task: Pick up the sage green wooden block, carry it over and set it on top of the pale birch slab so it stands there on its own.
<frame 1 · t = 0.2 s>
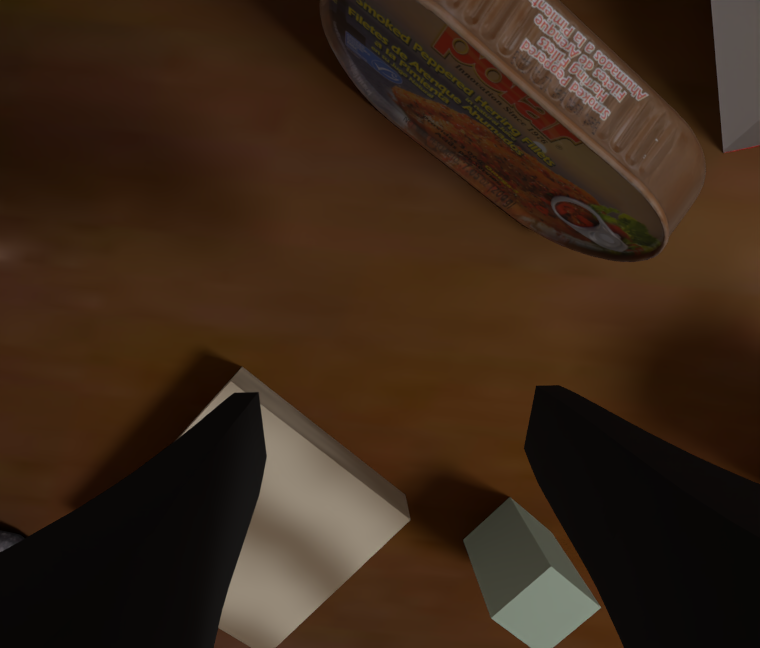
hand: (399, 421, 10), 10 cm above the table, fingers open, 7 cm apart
block: (507, 535, 24), on the table
slab: (260, 500, 23), on the table
geode: (10, 604, 23), on the table
tin: (471, 144, 19), on the table
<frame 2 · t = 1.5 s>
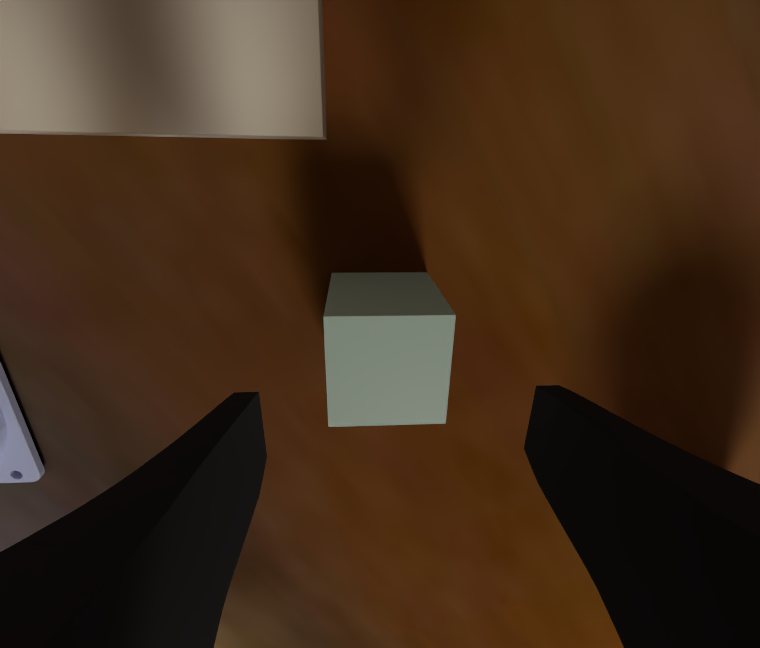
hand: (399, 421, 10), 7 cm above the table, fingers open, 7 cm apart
block: (379, 316, 17), on the table
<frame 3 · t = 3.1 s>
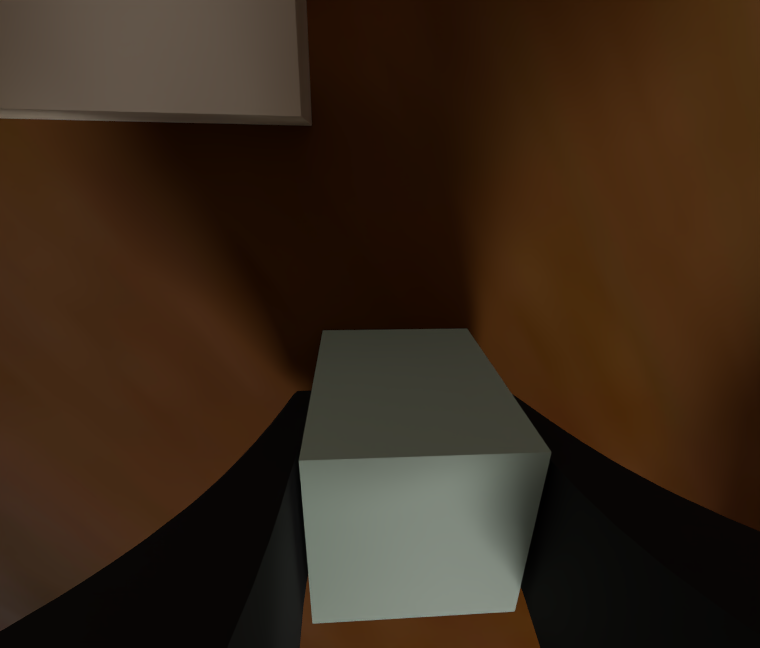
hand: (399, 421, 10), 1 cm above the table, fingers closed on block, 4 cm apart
block: (393, 391, 11), on the table, touching gripper
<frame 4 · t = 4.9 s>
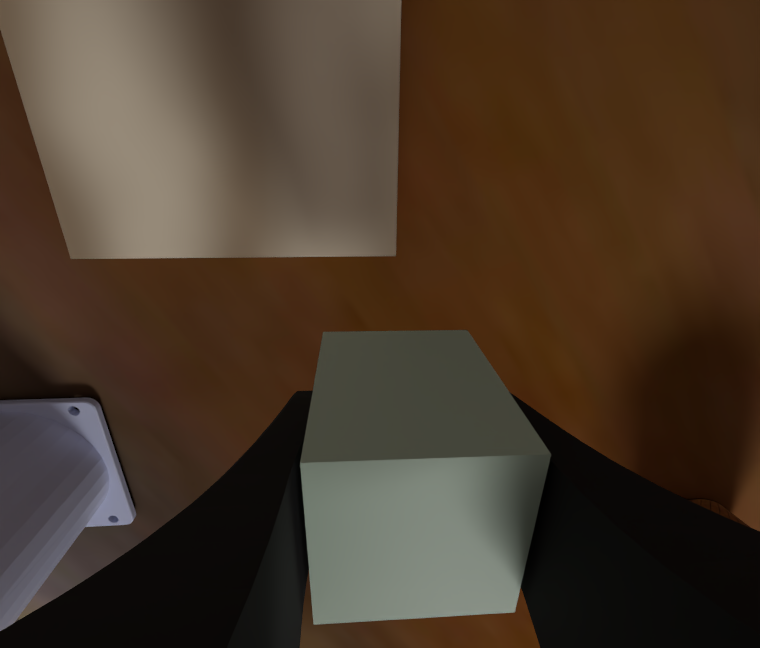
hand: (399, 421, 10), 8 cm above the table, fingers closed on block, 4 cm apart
disposable coffee cup: (677, 531, 25), on the table
block: (394, 392, 11), point 7 cm above the table, touching gripper
slab: (233, 84, 15), on the table
when the fingers open (5 cm above the table, at t = 7.0 s): block drops 2 cm, point 2 cm above the table.
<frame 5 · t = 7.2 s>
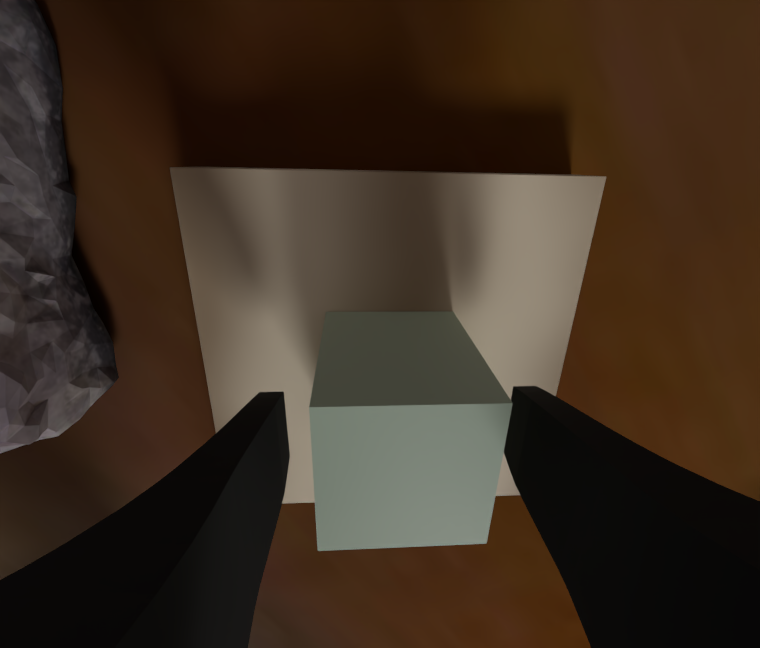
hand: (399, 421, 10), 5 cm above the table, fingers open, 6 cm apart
block: (388, 367, 13), point 2 cm above the table
slab: (384, 334, 15), on the table
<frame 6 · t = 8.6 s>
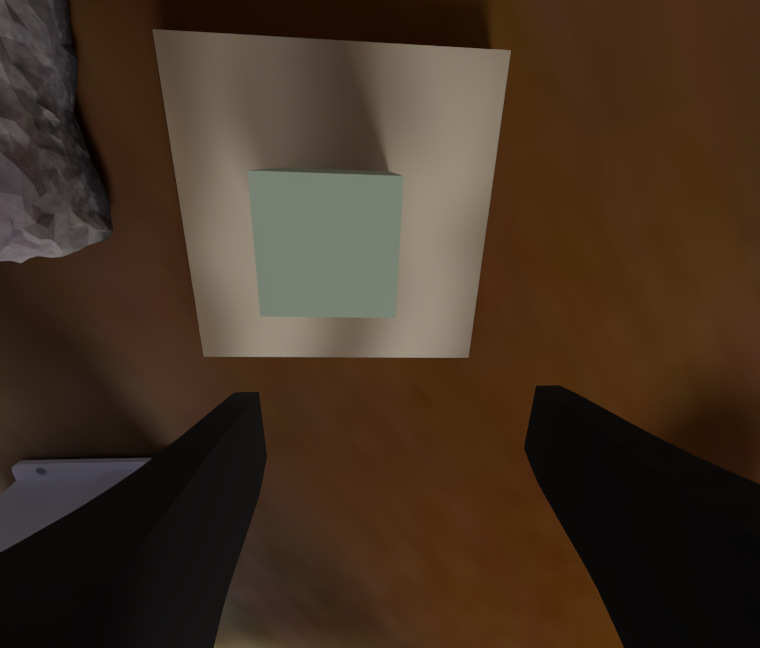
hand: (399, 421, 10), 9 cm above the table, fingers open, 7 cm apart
block: (336, 223, 15), point 2 cm above the table, touching slab
slab: (340, 214, 18), on the table, touching block
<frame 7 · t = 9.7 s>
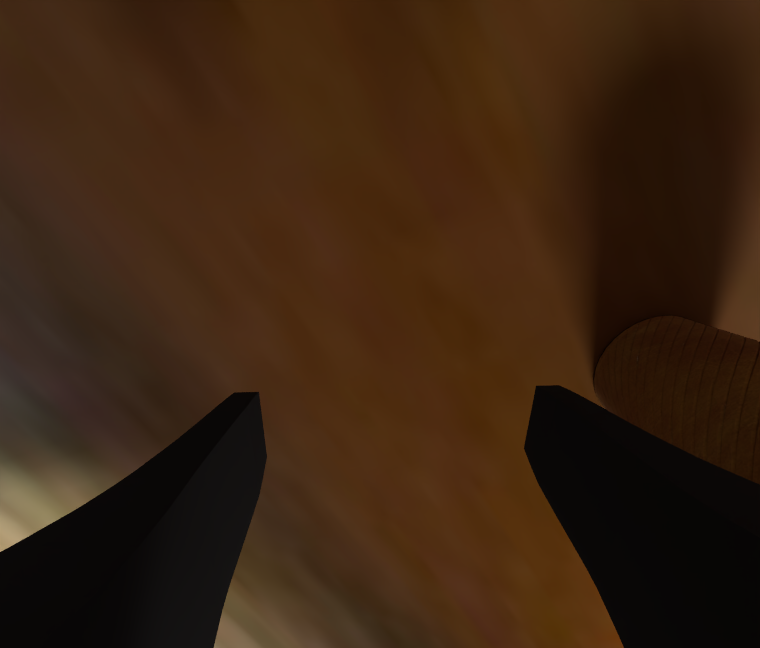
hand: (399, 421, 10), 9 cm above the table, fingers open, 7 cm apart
disposable coffee cup: (647, 366, 21), on the table
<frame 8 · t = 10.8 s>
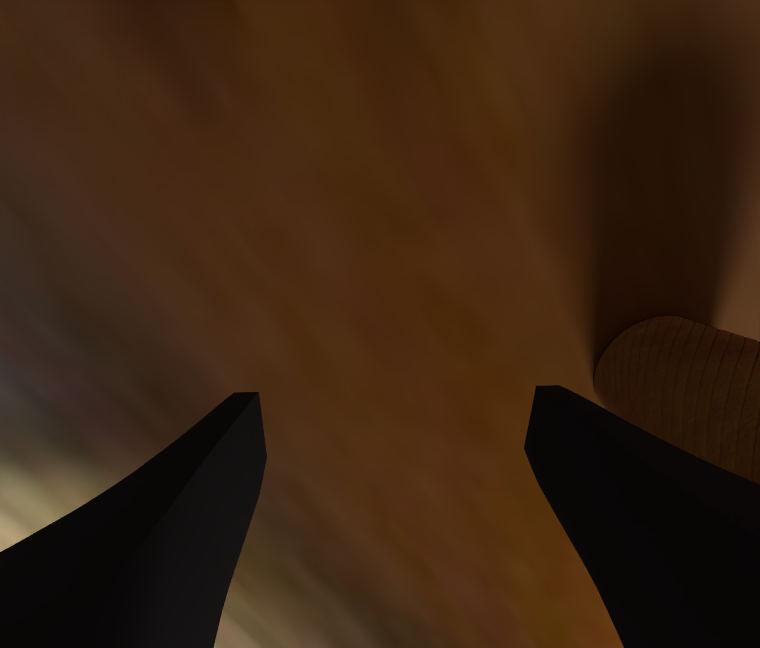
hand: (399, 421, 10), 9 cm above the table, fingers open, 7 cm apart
disposable coffee cup: (647, 366, 21), on the table
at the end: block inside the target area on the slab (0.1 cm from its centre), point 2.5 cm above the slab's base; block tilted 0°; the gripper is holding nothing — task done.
